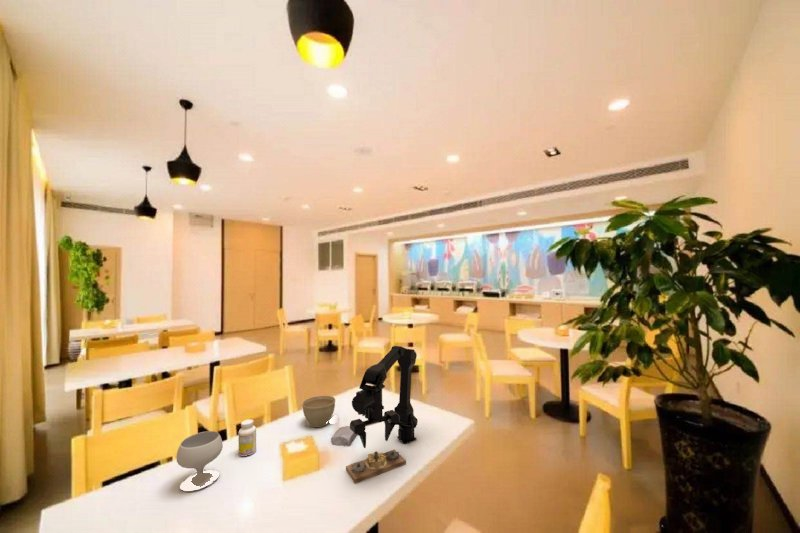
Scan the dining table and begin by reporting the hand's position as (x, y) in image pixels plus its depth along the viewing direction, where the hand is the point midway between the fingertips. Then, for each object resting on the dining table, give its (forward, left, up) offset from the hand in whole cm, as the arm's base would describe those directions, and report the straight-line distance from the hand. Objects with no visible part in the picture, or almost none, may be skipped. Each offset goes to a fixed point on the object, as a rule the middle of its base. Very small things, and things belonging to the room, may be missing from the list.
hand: (375, 444), depth 115 cm
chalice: (+57, -27, -9) cm, 64 cm away
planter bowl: (+8, -48, -9) cm, 50 cm away
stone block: (+3, -27, -9) cm, 28 cm away
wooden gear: (0, 0, -7) cm, 7 cm away
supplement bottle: (+41, -38, -9) cm, 57 cm away
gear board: (0, 0, -9) cm, 9 cm away
